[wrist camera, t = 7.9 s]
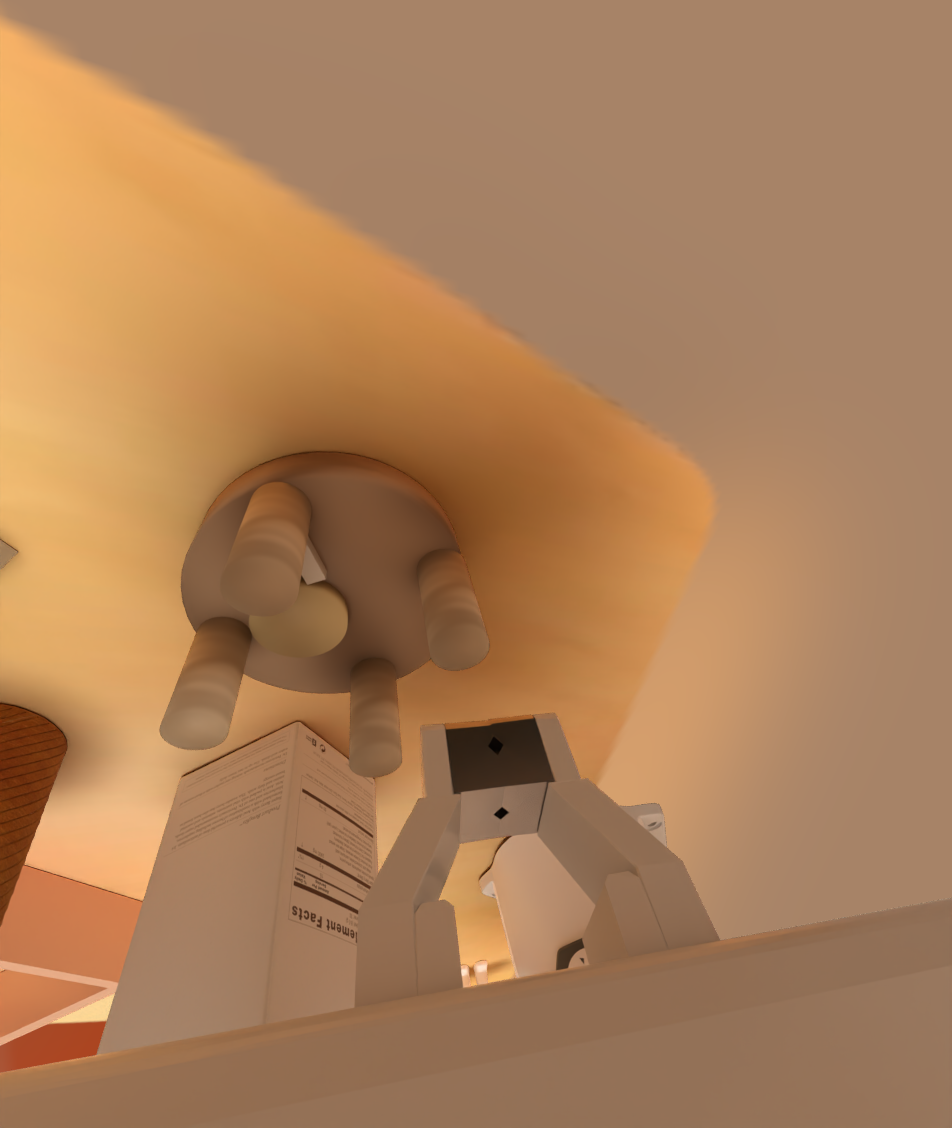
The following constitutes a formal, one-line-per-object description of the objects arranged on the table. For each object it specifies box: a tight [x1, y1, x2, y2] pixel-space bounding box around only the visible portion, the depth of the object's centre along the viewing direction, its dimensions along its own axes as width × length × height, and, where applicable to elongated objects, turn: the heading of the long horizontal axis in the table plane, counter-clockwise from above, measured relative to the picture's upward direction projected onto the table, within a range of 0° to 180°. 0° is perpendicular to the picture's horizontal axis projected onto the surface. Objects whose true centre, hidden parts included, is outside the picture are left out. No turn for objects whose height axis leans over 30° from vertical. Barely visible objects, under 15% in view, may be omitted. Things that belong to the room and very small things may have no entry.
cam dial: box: [160, 452, 490, 777], centre depth 21 cm, size 12×12×8 cm
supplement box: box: [97, 722, 378, 1055], centre depth 27 cm, size 9×9×15 cm
